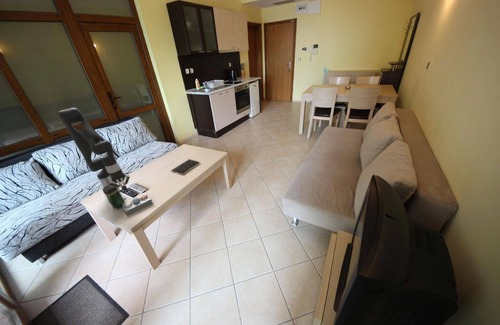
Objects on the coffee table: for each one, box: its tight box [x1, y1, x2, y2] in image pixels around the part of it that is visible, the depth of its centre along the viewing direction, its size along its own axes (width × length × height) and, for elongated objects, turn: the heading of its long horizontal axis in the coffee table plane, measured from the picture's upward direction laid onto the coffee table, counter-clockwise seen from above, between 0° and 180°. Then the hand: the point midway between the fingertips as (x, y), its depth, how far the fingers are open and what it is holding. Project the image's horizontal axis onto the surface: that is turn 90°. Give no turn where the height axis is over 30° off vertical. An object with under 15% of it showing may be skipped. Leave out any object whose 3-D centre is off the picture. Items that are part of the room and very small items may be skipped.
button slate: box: [132, 196, 140, 204], centre depth 146 cm, size 4×4×4 cm
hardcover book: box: [171, 158, 200, 176], centre depth 191 cm, size 16×23×2 cm
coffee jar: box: [102, 185, 126, 210], centre depth 145 cm, size 10×8×19 cm
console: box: [122, 192, 153, 217], centre depth 147 cm, size 12×18×4 cm, turn 131°
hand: (125, 189), depth 138 cm, fingers closed
